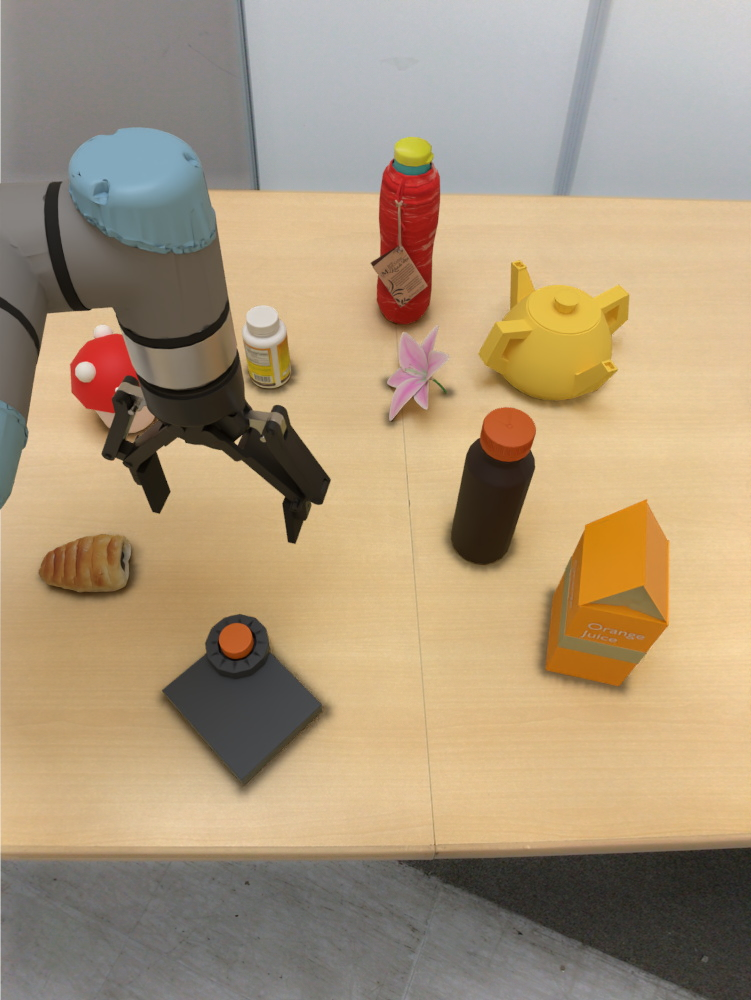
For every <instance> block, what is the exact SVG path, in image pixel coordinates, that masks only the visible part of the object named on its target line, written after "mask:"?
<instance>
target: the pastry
mask: <svg viewBox="0 0 751 1000" xmlns="http://www.w3.org/2000/svg"><path fill="white" fill-rule="evenodd" d="M131 557H132V545H131V543H130V542H129V540H128V538H126V536H125V535H122V534H116V535H115V534H107V533H100V534H96V535H88V536H83V537H80V538H77V539H75V540H72V541H70V542H67V543H65V544H62V545H59V546H57V547H55V548H54V549H51V550H49V551H48V552H47V553H46V554H45V555H44V557H43V559H42V562H41V564H40V567H39V569H38V573H37V574H38V575H39V577H40V578H41V579H42V580H43V582H44V583H46V584H47V585H48V586H54V587H57V588H61V589H64V590H72V591H74V592H77V593H84V592H85V593H87V592H89V593H99V592H107V593H108V592H115V591H118V590H121V589H123V588H125V587H126V586H127V583H128V580H129V576H130V565H129V561H130V559H131Z"/></svg>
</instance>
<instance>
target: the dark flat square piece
mask: <svg viewBox="0 0 751 1000" xmlns="http://www.w3.org/2000/svg"><path fill="white" fill-rule="evenodd" d="M233 623H241V624H244V625H246V626H247V627H248V628H249V629H250V631H251V633H252V637H253V641H254V645H253V648H252V650H251V652H250V653H249V654H248V655H247V656H245V657H243V658H241V659H231V658H229V657H227V656H226V655H225V654H224V653H223V651H222V649H221V646H220V644H219V636H220V633H221V632H222V630H223V629H224V628H225V627H226V626H228V625H230V624H233ZM204 645H205V652H206V653H205V654H203V655H202V656H201V657H200V658H199V659H197V660H196V661H195V662H194V663H193V664H191V665H190V666H189V667H188V668H187V669H185V670H184V671H183V672H182V673H181V674H179V676H177V677H176V678H174V679H173V680H172V681H171V682H170V683H168V684H167V685H166V686H165V687H164V688H163V689H161V691H162V693H163V694H164V696H165V698H166V699H167V700H168V701H169V702H170V703H171V705H172V706H173V707H174V708H175V709H176V710H177V711H178V713H179V714H180V715H181V716H182V717H183V718H184V720H185V721H186V722H187V723H188V724H189V725H190V726H191V727H192V729H193V730H194V731H195V732H196V733H197V734H198V736H199V737H200V738H201V739H202V740H203V741H204V742H205V744H207V746H208V747H209V748H210V749H211V750H212V752H213V753H214V754H215V755H216V756H217V758H218V759H220V761H221V762H222V763H223V764H224V766H226V768H227V769H228V770H229V771H230V772H231V774H232V775H233V776H234V777H235V778H236V779H237V780H238V781H239V782H240V784H241V785H242V786H245V785H246V784H247V783H248V782H250V780H251V779H252V778H254V777H255V776H256V775H257V774H258V773H259V772H260V771H261V770H262V769H263V768H264V767H266V765H267V764H268V763H270V762H271V761H272V760H273V758H275V757H276V756H277V754H279V753H280V752H281V751H282V750H283V749H284V748H286V746H287V745H288V744H289V743H291V742H292V741H293V740H294V739H295V738H296V737H297V736H298V735H299V734H300V733H301V732H302V731H303V730H304V729H305V728H307V726H308V725H309V724H310V723H311V722H313V721H314V720H315V719H316V718H317V717H318V716H319V715H320V714H321V713H322V712H323V706H322V703H321V702H320V701H319V700H318V699H317V698H316V697H315V696H314V695H313V694H312V693H311V692H310V691H309V690H308V689H307V688H306V687H305V686H304V684H302V683H301V682H300V681H299V680H298V679H297V678H296V677H295V676H294V675H293V674H292V673H291V672H290V671H289V670H288V668H286V667H285V666H284V664H283V663H281V661H280V660H278V658H276V656H275V655H274V654H272V652H271V644H270V639H269V635H268V631H267V628H266V627H265V626H264V624H263V623H261V621H260V620H259V619H257V618H256V617H254V616H250V615H246V614H242V613H238V614H233V615H229V616H225V617H223V618H222V619H220V620H219V621H218V622H217V623H216V624H214V625H213V626H212V627H211V628H210V630H209V633H208V635H207V637H206V640H205V642H204Z"/></svg>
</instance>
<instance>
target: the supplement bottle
mask: <svg viewBox="0 0 751 1000" xmlns="http://www.w3.org/2000/svg"><path fill="white" fill-rule="evenodd" d="M279 317H280V316H279V313H278V311H277V310H276V309H275V308H274V307H273V306H270V305H265V304H260V305H256V306H253V307H252V308H250V309H248V311H247V312H246V315H245V323H244V325H243V327H242V329H241V337H242V342H243V348H244V353H245V358H246V363H247V369H248V370H247V371H248V374H249V375H248V376H249V378H250V380H251V381H252V382H253V384H255V385H256V386H258V387H260V388H263V389H276V388H278V387H281V386H284V385H285V384H286V383H287V382H288V380H290V377H291V375H292V365H291V356H290V348H289V339H288V330H287V326H286V323H285V322H284V321H283V320H282V319H281V318H279Z"/></svg>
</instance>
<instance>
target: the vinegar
mask: <svg viewBox="0 0 751 1000" xmlns="http://www.w3.org/2000/svg"><path fill="white" fill-rule="evenodd" d="M536 435H537V426H536V424H535V421H534V419H533V418H532V417H531V416H530V415H529V414H528V413H526V412H524V411H523V410H522V409H518V408H515V407H511V406H510V407H508V406H503V407H499V408H494V409H493V410H491V411H489V412H488V413H487V414H486V415H485V417H484V418H483V421H482V425H481V429H480V433H479V437H478V438H477V439H475V440H474V441H473V443H472V444H470V446H469V448H468V450H467V452H466V454H465V459H464V464H463V469H462V473H461V480H460V483H459V489H458V493H457V500H456V504H455V510H454V515H453V520H452V526H451V530H450V541H451V544H452V547H453V549H454V550H455V552H456V553H457V554H458V555H459V556H460V557H461V558H462V559H464V560H466V561H467V562H470V563H473V564H475V565H476V564H478V565H489V564H493V563H495V562H498V561H499V560H501V559H502V558H503V557H504V556H505V555H506V554H507V553H508V552H509V550H510V549H509V548H510V546H511V543H512V541H513V538H514V534H515V531H516V528H517V524H518V522H519V519H520V516H521V513H522V510H523V507H524V503H525V501H526V496H527V494H528V492H529V489H530V486H531V482H532V479H533V476H534V473H535V470H536V458H535V455H534V454H533V452H532V451H533V450H532V447H533V444H534V441H535V438H536Z"/></svg>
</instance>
